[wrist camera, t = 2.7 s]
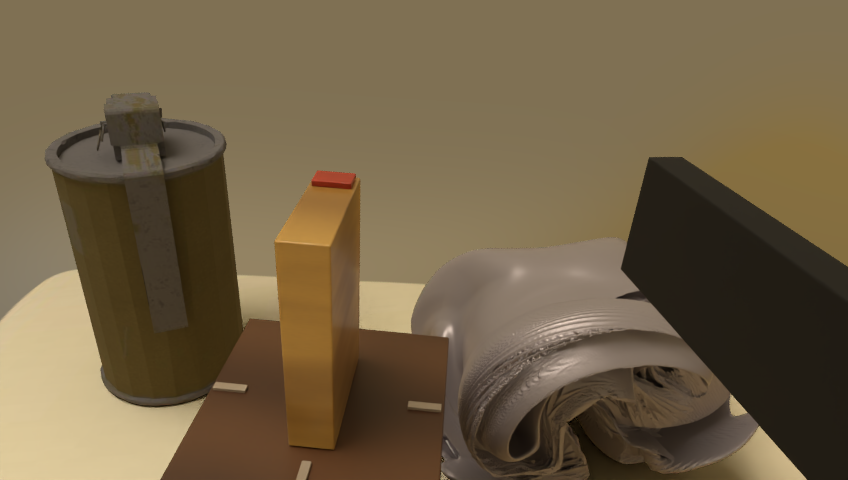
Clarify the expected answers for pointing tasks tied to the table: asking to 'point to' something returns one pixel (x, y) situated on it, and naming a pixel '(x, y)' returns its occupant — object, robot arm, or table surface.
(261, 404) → the walnut box
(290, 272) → the wooden red-tipped block
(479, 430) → the grey shiny folded piece
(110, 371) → the canister
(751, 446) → the table surface
